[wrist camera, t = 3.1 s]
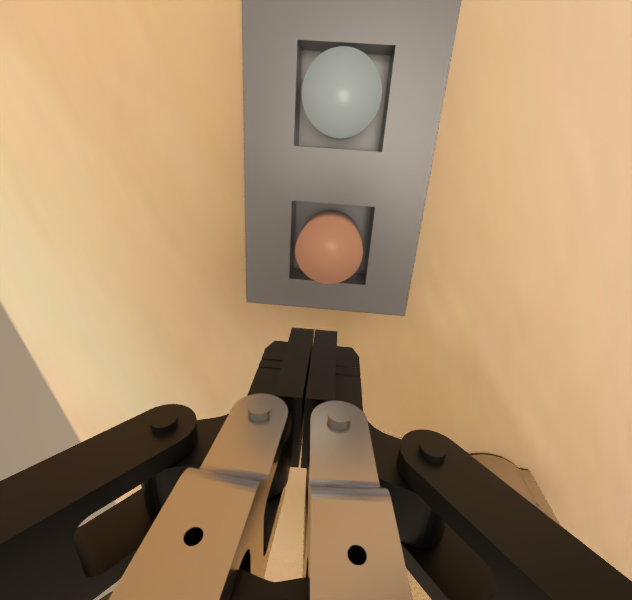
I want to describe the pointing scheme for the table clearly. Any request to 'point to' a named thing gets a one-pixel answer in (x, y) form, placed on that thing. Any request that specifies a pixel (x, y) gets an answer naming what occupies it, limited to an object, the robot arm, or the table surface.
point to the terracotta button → (329, 247)
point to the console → (340, 144)
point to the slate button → (341, 92)
